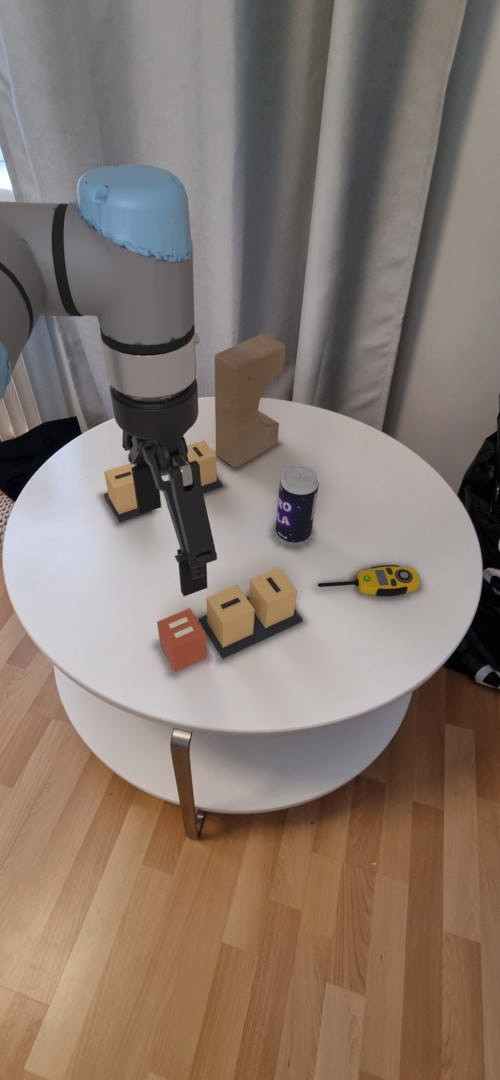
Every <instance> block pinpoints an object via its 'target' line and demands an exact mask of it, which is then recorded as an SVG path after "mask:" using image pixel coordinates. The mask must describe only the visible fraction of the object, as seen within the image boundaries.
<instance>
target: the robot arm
mask: <svg viewBox="0 0 500 1080" xmlns="http://www.w3.org/2000/svg"><path fill="white" fill-rule="evenodd" d="M76 191H77V197H76V200H75V201H71V202H69V203H65V202H62V203H60V202H59V203H57V202H35V201H34V202H29V201H5V200H3V201H2V200H0V401H1V400H2V399H3V398H4V396H5V394H6V391H7V388H8V386H9V385H10V383H11V379H12V374H13V372H14V370H15V368H16V365H17V363H18V361H19V359H20V356H21V354H22V351H23V350H24V347H25V346H26V344H27V343H28V341H29V340H30V338H31V336H32V334H33V331H34V329H35V328H36V325H37V323H38V322H39V320H40V317H85V316H89V317H90V316H91V317H92V316H93V317H96V318H97V321H98V324H99V331H100V332H99V333H100V341H101V348H102V353H103V358H104V360H103V361H104V365H105V366H104V367H105V371H106V377H107V381H108V383H109V393H110V399H111V403H112V411H113V416H114V417H113V418H114V420H115V423H116V424H117V426H118V427H119V428H120V429H121V430H122V439H121V440H122V441H121V442H122V444H121V447H122V448H123V450H124V451H125V452H127V451H129V453H128V454H127V457H128V458H127V460H128V462H129V464H130V463H131V465H133V466H134V467H132V468H131V469H132V476H133V482H134V489H135V495H136V502H137V508H138V511H139V513H140V514H142V513H145V512H148V511H151V510H152V511H154V510H157V509H160V508H161V509H162V500H161V492H162V493H163V496H164V500H165V502H166V506H167V509H168V513H169V515H170V519H171V522H172V525H173V529H174V532H175V535H176V539H177V542H178V546H179V549H177V550H176V552H177V554H176V555H174V558H175V561H176V562H177V564H178V574H179V586H180V592H181V595H182V596H183V597H187V596H190V595H192V594H195V593H198V592H201V591H203V590H206V589H208V567H207V565H208V564H209V563H212V562H215V561H217V560H218V554H217V551H216V546H215V541H214V538H213V537H214V536H213V532H212V528H211V523H210V518H209V514H208V510H207V509H208V508H207V505H206V501H205V496H204V494H203V491H202V486H201V475H200V465H199V464H198V462H197V461H196V460H194V461H191V462H189V460H188V457H187V454H188V447H187V446H188V444H187V441H186V438H185V436H184V435H186V433H187V432H188V431H189V430H191V428H192V427H193V426H194V425H195V424H196V422H197V420H198V418H199V388H198V381H197V379H196V376H197V360H196V359H197V357H196V345H199V343H200V336H199V334H198V332H196V331H195V330H196V329H195V328H196V327H195V325H196V324H195V290H194V289H195V288H194V286H195V285H194V252H193V249H194V248H193V240H192V234H191V233H192V232H191V221H190V210H189V209H190V208H189V199H188V194H187V190H186V188H185V185H184V184H183V182H182V181H181V180H180V179H179V177H178V176H176V175H175V174H174V173H172V172H171V171H169V170H167V169H164V168H163V167H162V168H161V167H159V166H154V165H149V164H139V163H137V164H136V163H122V164H120V165H104V166H99V167H96V168H93V169H90V170H89V171H87V172H85V173H83V175H81V176H80V178H79V179H78V182H77V186H76ZM165 476H168V477H167V478H168V479H167V480H164V479H163V478H162V477H165Z"/></svg>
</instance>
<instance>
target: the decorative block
mask: <svg viewBox="0 0 500 1080" xmlns="http://www.w3.org/2000/svg"><path fill="white" fill-rule="evenodd" d="M285 355H286V345H285V344H284V343H282V342H281V341H279V340H277V339H275V338H273V337H271V336H269V335H267V334H266V333H263V332H262V333H260V334H258V335H256V336H253V337H252V338H249V339H247V340H244V341H242V342H240V343H238V344H236V345H233V346H231V347H229V348H227V349H224V350H222V351H220V352H218V353H215V355H214V411H215V412H214V415H215V416H214V417H215V418H214V419H215V420H214V421H215V455H216V457H219V458H220V459H222V460H223V461H224V462H225V463H227V464H228V465H230V466H231V467H233V468H234V469H237V468H238V467H240V466H242V465H244V464H245V463H247V462H249V461H251V460H253V459H254V458H256V457H257V456H259V455H261V454H262V453H264V452H266V451H267V450H269V449H271V448H273V447H274V446H276V445H278V441H279V429H280V428H279V427H280V423H279V422H278V421H276V420H274V419H273V418H271V417H270V416H268V415H267V414H265V413H263V412H262V411H260V410H259V408H260V407H259V406H260V401H261V399H262V397H263V395H264V393H265V391H266V389H267V388H268V386H269V385H270V384H271V382H272V381H273V380H274V379H275V377H277V376H278V375H279V374H280V373H282V372H283V371H284V367H285Z"/></svg>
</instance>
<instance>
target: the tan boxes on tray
mask: <svg viewBox="0 0 500 1080" xmlns="http://www.w3.org/2000/svg"><path fill="white" fill-rule="evenodd" d="M248 593H249V595H248V596H246V595H245V593H244V592H243V591H242V589H241V588H240V586H239V585H238V584H236V585H234V586H231V587H229V588H226V589H224V590H222V591H220V592H217V593H215V594H213V595H210V596H207V597H206V614H205V615H203V616H201V617H199V618H198V622H199V624H200V626H201V627H202V629H203V630H204V632H205V634H207V636H208V638H209V639H210V641H211V643H212V644H213V646H214V648H215V650H217V653H218V654H219V657H221V659H222V660H224V659H227V658H228V657H231V656H232V655H235V654H237V653H239V652H241V651H243V650H246V649H248V648H250V647H252V646H254V645H256V644H258V643H261V642H262V641H264V640H267V639H269V638H271V637H273V636H275V635H277V634H280V633H282V632H284V631H286V630H288V629H291V628H293V627H295V626H297V625H299V624H301V623H303V618H302V617H301V616H300V614H299V613H298V611H297V610H296V604H297V603H296V601H297V595H298V590H297V588H296V587H295V586H294V585H293V583H292V582H291V581H290V579H289V578H288V577H287V575H286V574H285V573H284V572H283V570H282V569H281V568H280V567H277V568H275V569H273V570H270V571H267V572H264V573H262V574H260V575H257V576H255V577H252V578H251V579H249V591H248Z"/></svg>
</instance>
